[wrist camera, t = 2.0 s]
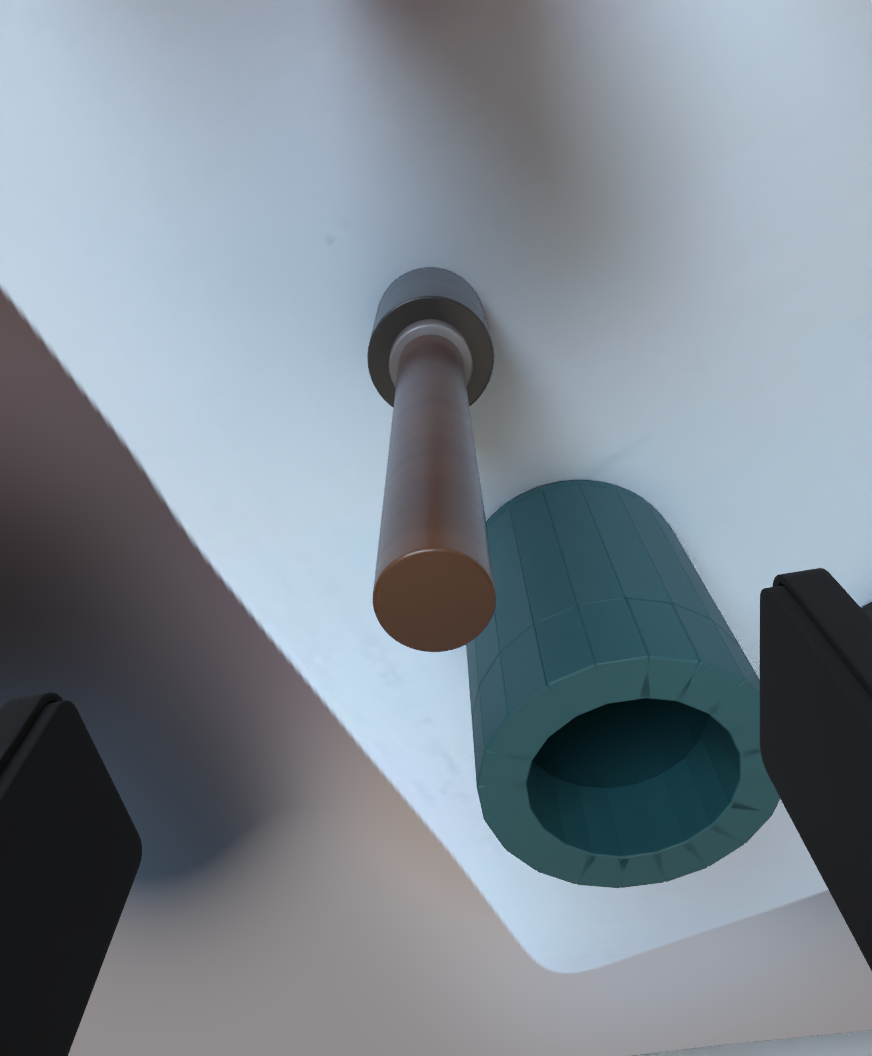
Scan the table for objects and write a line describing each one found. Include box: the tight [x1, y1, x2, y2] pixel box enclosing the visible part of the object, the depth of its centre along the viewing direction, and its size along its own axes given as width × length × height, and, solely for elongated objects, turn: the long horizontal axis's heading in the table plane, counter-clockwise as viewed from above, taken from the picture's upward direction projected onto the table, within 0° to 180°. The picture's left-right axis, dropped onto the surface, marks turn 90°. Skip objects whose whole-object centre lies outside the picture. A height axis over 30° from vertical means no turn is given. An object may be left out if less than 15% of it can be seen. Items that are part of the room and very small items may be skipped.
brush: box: [368, 267, 496, 652], centre depth 21 cm, size 4×4×19 cm
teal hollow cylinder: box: [466, 480, 780, 888], centre depth 30 cm, size 9×9×12 cm
